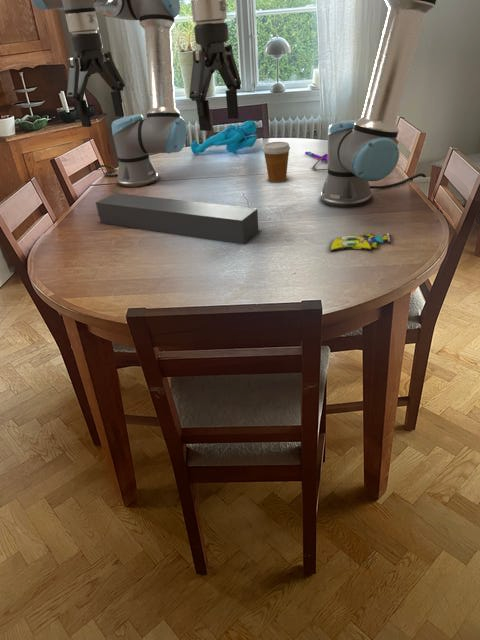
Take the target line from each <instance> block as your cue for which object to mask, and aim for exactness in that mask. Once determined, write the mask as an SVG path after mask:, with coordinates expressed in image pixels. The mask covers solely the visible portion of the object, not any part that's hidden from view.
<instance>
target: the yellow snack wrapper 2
mask: <svg viewBox="0 0 480 640" xmlns="http://www.w3.org/2000/svg"><path fill="white" fill-rule="evenodd" d="M365 237H366V238H365ZM384 242H387V243H389V244H391V238H390V233H389V232H387V233H386V235H384V236H383V235H382V234H380V235H378V236H376V237H375V235H372V234H371V233H370V232H369V233H364V234H362V236H360V235H354V234H353V235H352V234H351V235H350V234H349V235H341V236H338V237H336V238H335V239H334V240H333V241H332V243H331V245H330V252H334V251H335V252H336V251H339V250H350V249H354V250H367V251H373V249H376V250H377V249H378V244H384Z"/></svg>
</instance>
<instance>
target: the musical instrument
mask: <svg viewBox="0 0 480 640" xmlns="http://www.w3.org/2000/svg"><path fill="white" fill-rule="evenodd" d="M304 154H305V155H307V156H309V157H312V158H315V159H318V160H317V161H316V162H315V163H314V164H313V165H312V170H314V171H328V168H316V165H318V163H320V162H321V161H324V162H326V163H328V153H325V154H323V155H319V154H315V153H314V152H311V151H304Z"/></svg>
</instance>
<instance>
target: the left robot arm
mask: <svg viewBox="0 0 480 640" xmlns="http://www.w3.org/2000/svg"><path fill="white" fill-rule="evenodd" d="M30 2H31V3H32V6H34V7H35V8H36V9H37V10H39V11H51V10H61V11H62V10H64V15H65V20H66V25H67V28H68V32H69V33H70V34H71V35H70V42H71V46H72V51H74V52H75V53H76V56H69V57H67V63H68V76H67V89H66V98H67V99H68V100H71V101H72V102H74V103H75V104H74V105H75V108H76V113H77V114H78V115H79V118H80V122H81V127H82V128H92V127H93V126H92V125H93V124H92V121H91V117H90V112H89V109H88V108H89V107H88V103H87V99H84V96H85V94H86V93H85V92H86V89H87V86H88V82H89V79H90V77H91V75H95V74H98V75H100V78H102V79H103V81H104V82H105V83H106V84H107V86H109V88H110V90H112V91H110V96H111V102H112V106H113V111H114V116H115V117H121V118H118V119H115V120H113V121H112V122H111V132H112V133H111V135H112V138H113V142H114V146H115V151H116V156H117V160H118V167H117V168H118V170H117V173H114V172H115V171H116V167H114V166H111V165H107V164H100V165H98V166H96V167H95V168H94V170H95V171H97V170H99V169H100V168H108V169H110V170H108V171H106V172H104V174H103V175H104V177H107V178H111V177H112V178H113V177H117V179H116V180H117V183H118V186H120V187H123V188H124V187H125V188H136V187H137V188H138V187H145V186H147V185H148V186H149V185H151V184H154V183H156V182H157V181H158V180H159V176H158V172H157V169H156V168H155V166H154V163H153V161H152V159H151V156H150V154H173V153H179V152H181V151H182V150H183V149H184V147H185V145H186V141H187V131H188V128H187V124H186V121H185V119H184V118H183V117H181V113H180V111H179V110H178V109H177V108H176V103H175V102H176V100H175V98H176V97H175V84H174V67H173V51H172V49H173V48H172V35H171V30H172V29H173V28H174V26H175V18H178V17H179V16H180V14H181V2H180V0H30ZM97 13H99V14H101V15H102V16H104V17H106V18H113V19H119V20H124V21H138V22H139V26H140V27H141V28H142V29H143V30H144V39H145V53H146V65H147V66H146V67H147V76H148V79H147V80H148V93H149V94H148V95H149V103H150V104H149V105H150V106H149V107H150V108H149V109H148V110H147V112H146V118H144V116H143V114H141V113H138V114H133V115H132V114H131V115H126V116H125V111H124V107H123V97H122V92H123V91H124V88H125V86H126V84H125V81H124V80H123V77H122V76H121V74H120V72H119V70H118V68H117V66H116V64H115V61H113V57H112V53H111V52H110V51H102V49H104V44H103V40H102V35H101V33H100V32H98V31H99V29H100V27H99V23H98V17H97ZM112 173H113V174H112Z"/></svg>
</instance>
